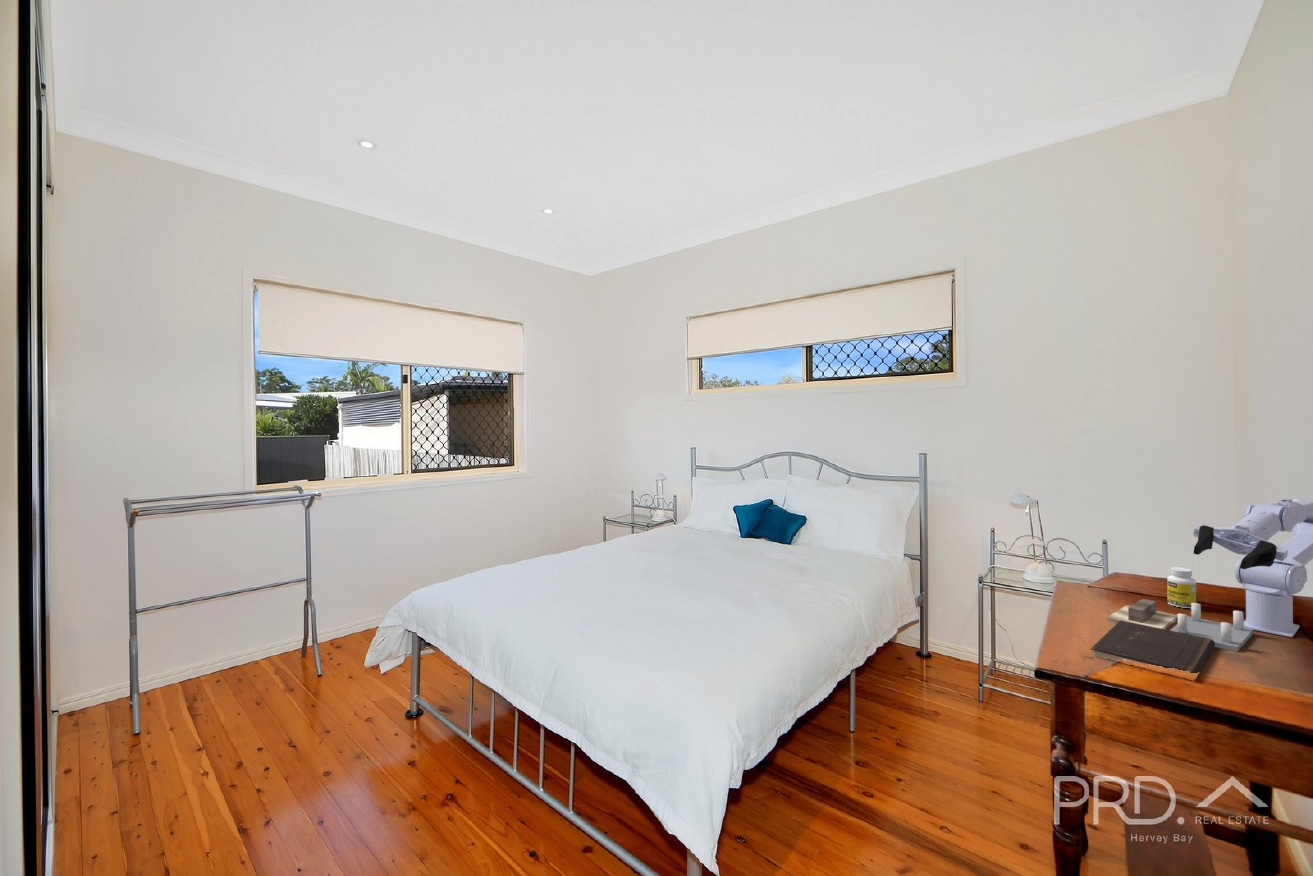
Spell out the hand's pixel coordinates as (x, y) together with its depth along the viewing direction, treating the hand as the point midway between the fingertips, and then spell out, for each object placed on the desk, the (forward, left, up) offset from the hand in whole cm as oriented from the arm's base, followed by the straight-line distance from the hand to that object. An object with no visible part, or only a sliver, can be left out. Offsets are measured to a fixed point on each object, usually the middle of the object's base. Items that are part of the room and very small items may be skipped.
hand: (1218, 557), depth 118 cm
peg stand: (-7, -3, -20) cm, 21 cm away
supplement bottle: (-26, -12, -20) cm, 34 cm away
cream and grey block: (-7, -15, -20) cm, 26 cm away
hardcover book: (+13, -8, -20) cm, 26 cm away
